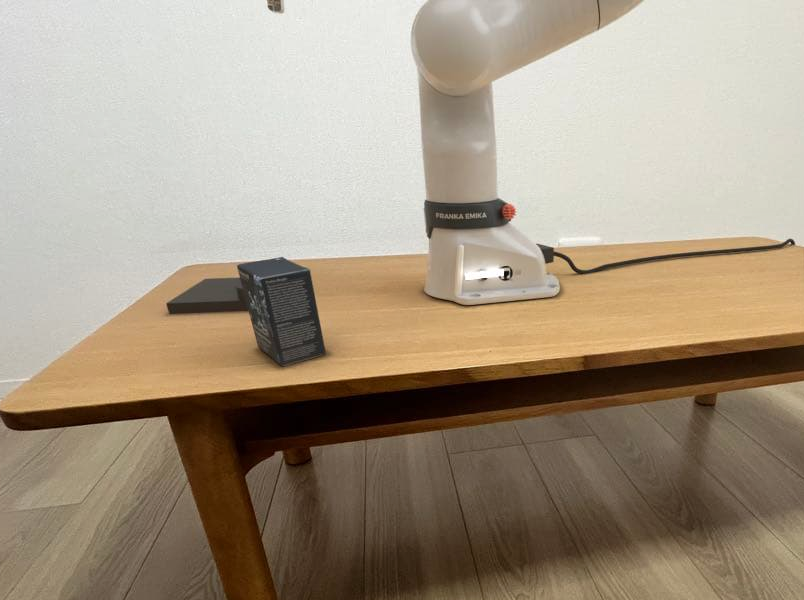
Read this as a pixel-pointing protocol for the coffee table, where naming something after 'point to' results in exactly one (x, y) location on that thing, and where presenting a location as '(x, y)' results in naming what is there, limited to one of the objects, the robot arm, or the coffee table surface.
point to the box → (282, 309)
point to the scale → (210, 297)
